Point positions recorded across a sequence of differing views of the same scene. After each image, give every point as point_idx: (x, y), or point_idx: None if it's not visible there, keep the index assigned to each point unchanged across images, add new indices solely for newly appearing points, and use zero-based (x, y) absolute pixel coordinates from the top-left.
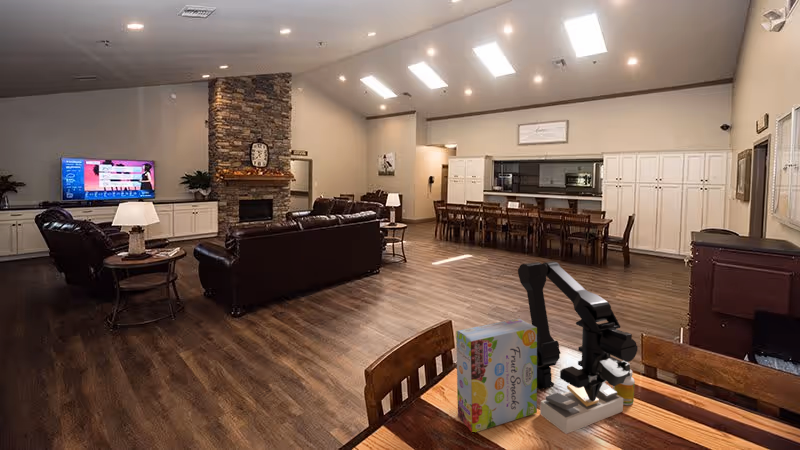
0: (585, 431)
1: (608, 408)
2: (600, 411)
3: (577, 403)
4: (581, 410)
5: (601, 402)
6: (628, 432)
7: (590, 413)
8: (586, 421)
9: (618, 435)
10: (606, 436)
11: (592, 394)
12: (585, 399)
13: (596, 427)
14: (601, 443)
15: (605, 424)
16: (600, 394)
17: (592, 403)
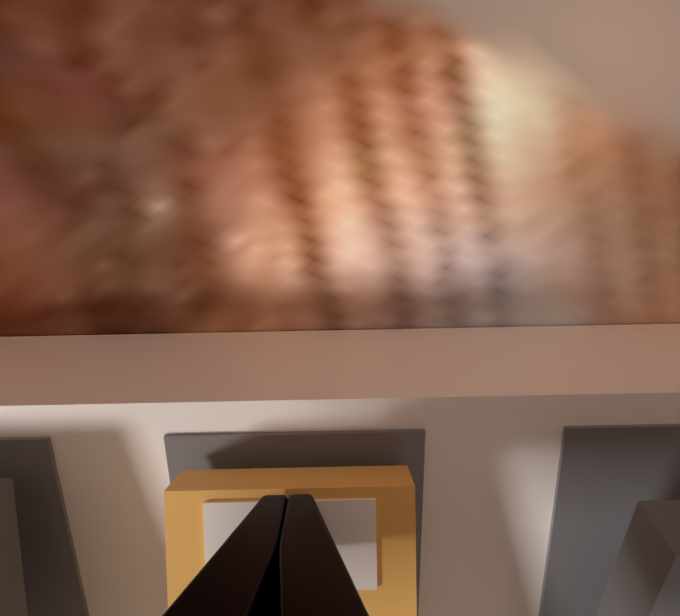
0: (514, 275)
1: (77, 375)
2: (220, 372)
3: (669, 531)
4: (507, 444)
5: (114, 460)
6: (121, 74)
7: (401, 378)
8: (446, 345)
9: (266, 87)
10: (396, 132)
11: (356, 598)
12: (374, 561)
13: (365, 273)
14: (541, 75)
15: (242, 268)
16: (20, 567)
17: (299, 475)
